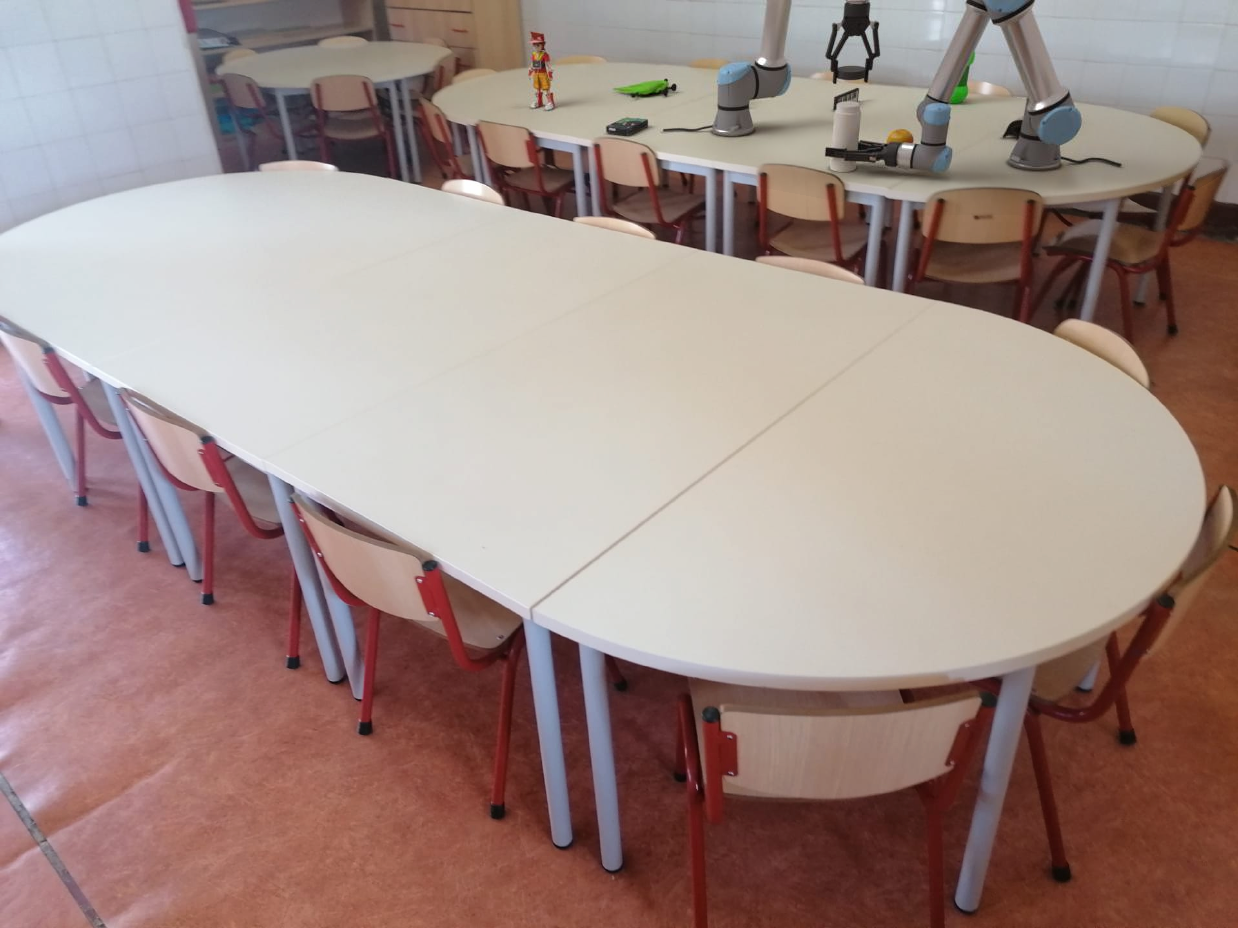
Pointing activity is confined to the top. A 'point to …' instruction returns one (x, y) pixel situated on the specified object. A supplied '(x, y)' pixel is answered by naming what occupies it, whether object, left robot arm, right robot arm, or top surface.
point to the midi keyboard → (846, 97)
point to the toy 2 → (648, 88)
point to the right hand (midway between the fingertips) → (830, 148)
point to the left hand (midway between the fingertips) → (850, 82)
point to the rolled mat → (1014, 128)
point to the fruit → (900, 136)
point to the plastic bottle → (962, 85)
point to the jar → (845, 133)
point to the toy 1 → (541, 71)
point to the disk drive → (627, 126)
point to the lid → (851, 72)
